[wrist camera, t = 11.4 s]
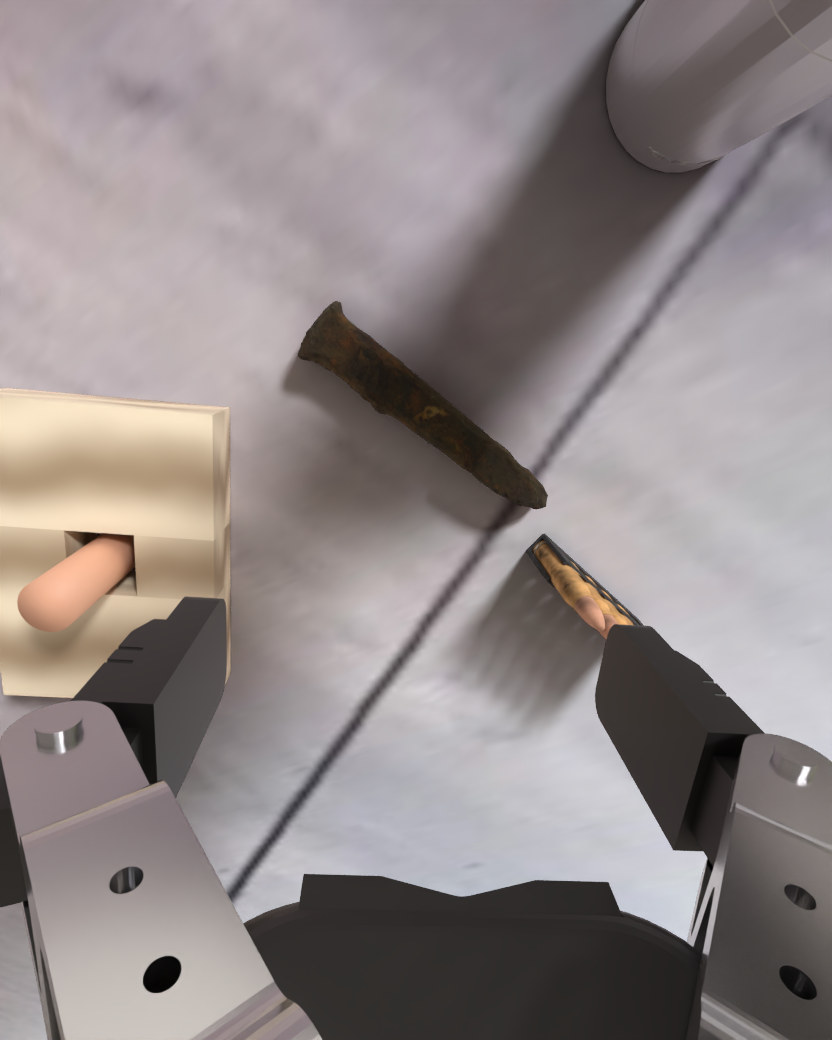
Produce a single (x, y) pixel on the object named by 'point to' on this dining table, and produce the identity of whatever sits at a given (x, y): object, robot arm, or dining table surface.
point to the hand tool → (416, 405)
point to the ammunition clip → (579, 588)
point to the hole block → (107, 520)
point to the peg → (76, 582)
